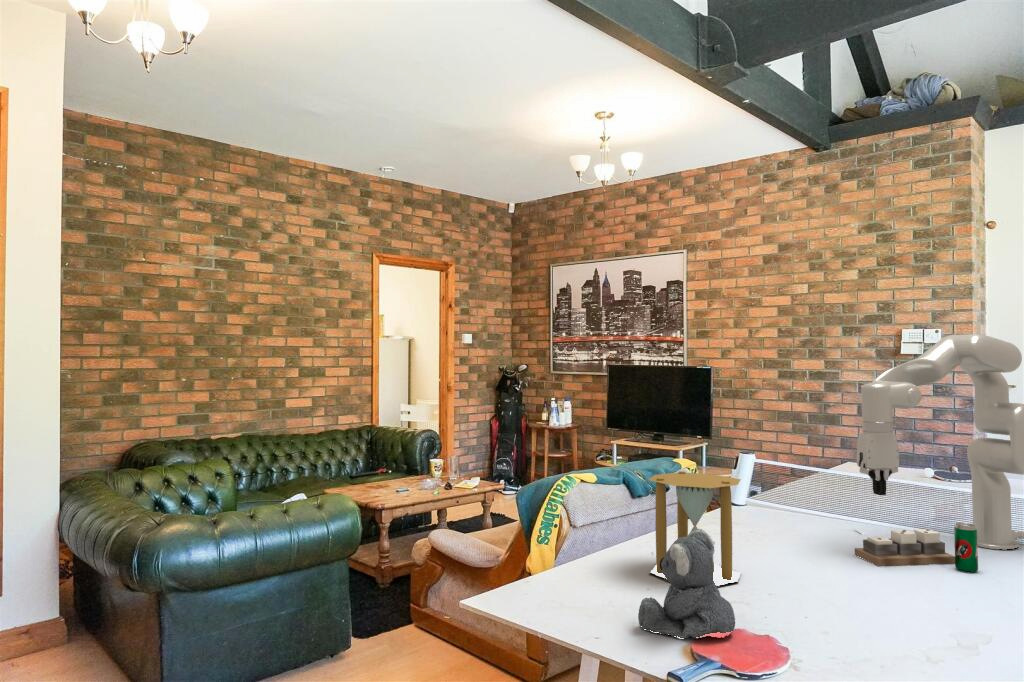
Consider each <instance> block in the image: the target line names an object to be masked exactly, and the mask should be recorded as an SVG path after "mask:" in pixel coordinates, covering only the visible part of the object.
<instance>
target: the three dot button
mask: <svg viewBox="0 0 1024 682" xmlns="http://www.w3.org/2000/svg"><path fill="white" fill-rule="evenodd" d="M890 539H891V540H892V541H895V542H898V543H900V544H912V543H916V534H915V533H914V532H911V531H909V530H907V529H897V530H896V529H895V530H894V529H892V530H890Z"/></svg>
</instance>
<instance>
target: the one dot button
mask: <svg viewBox="0 0 1024 682" xmlns="http://www.w3.org/2000/svg"><path fill="white" fill-rule="evenodd" d="M889 539H890V538H886V537H884V536H868V537H867V541H869V542H872V543H874V544H876V545H883V544H892V540H889Z"/></svg>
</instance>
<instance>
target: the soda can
mask: <svg viewBox="0 0 1024 682" xmlns="http://www.w3.org/2000/svg"><path fill="white" fill-rule="evenodd" d="M953 527H954V529H953V532H954V556H955V564H954V567H955V568H956V570H957V571H958V572H962V571H963V572H962V573H968V572H969V573H970V574H973V573H977V572H978V571H979V549H978V547H979V546H978V540H977V529H976V527H975V525H974V524H973V523H969V522H956V523H955V526H953ZM969 573H968V574H969Z"/></svg>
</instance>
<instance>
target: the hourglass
mask: <svg viewBox="0 0 1024 682" xmlns="http://www.w3.org/2000/svg"><path fill="white" fill-rule="evenodd" d="M647 480H648V481H651V482H654V483H656V484H655V558H656V559H655V561H656V563H655V564H657V572H658V573H663V572H662V570H661V569H660V560H661V559H662V558H663V557H665V555H666V553H667V551H668V550H667V547H668V546H667V543H668V542H667V538H668V532H667V531H668V528H667V526H668V525H667V522H668V521H667V490H666V485H670V486H675V494H676V497H677V500H676V502H677V505H676V506H677V508H676V509H677V510H676V511H677V513H676V515H677V523H676V525H677V539H679V538H681V537H682V538H683V537H689V535H690V534H691V531H692V532H694V530H697V531H698V529H699V528H698V527H697V525H698V523H699V522H700V520H701V518H702V517H703V515H704V513H705V512H706V510H707V509H708V506H710V504H711V502H712V501H713V500H712V499H713V498H714V497H713V494H714V489H715V488H720V558H721V559H720V560H721V563H720V565H721V568H722V577H723V579H727V580H731V577H732V569H733V516H732V515H733V510H732V507H733V506H732V489H731V487H732V486H733V487H734V486H738V485H739V484H740V481H741V479H740V478H735V477H730V476H725V475H719V474H711V473H699V472H698V473H697V472H686V471H683V470H680V471H678V472H670V473H669V472H668V473H662V474H661V473H659V474H654V475H653V476H651V477H650V478H649V479H647ZM689 521H690V522H691V523H692V525H693V527H692V528H691V530H690V532H689ZM712 559H713V569H714V563H715V561H714V556H713V557H712Z"/></svg>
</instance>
